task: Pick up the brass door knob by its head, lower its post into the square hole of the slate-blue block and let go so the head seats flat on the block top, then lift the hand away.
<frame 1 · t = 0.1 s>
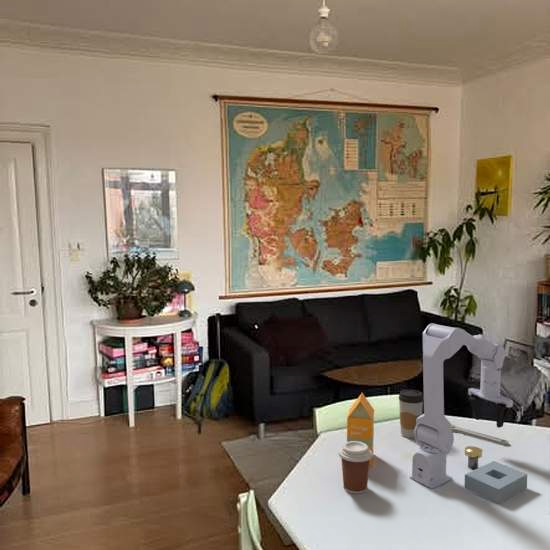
hand: (488, 422, 164), 10 cm above the table, tool pointing down, fingers open, 7 cm apart
orange juice: (360, 459, 161), on the table
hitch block: (495, 488, 143), on the table
brass door knob: (472, 467, 155), on the table
coffee cup: (410, 435, 179), on the table
coffee cup 2: (355, 488, 143), on the table
adjustable wrench: (468, 436, 179), on the table
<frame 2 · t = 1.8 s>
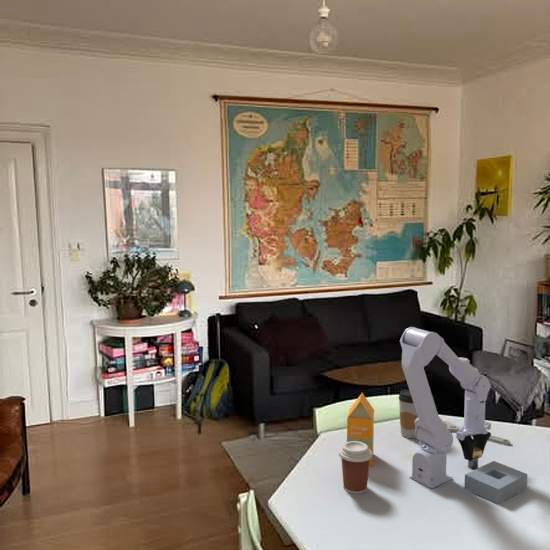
hand: (473, 457, 155), 3 cm above the table, tool pointing down, fingers closed on brass door knob, 5 cm apart
brass door knob: (473, 467, 155), on the table, touching gripper
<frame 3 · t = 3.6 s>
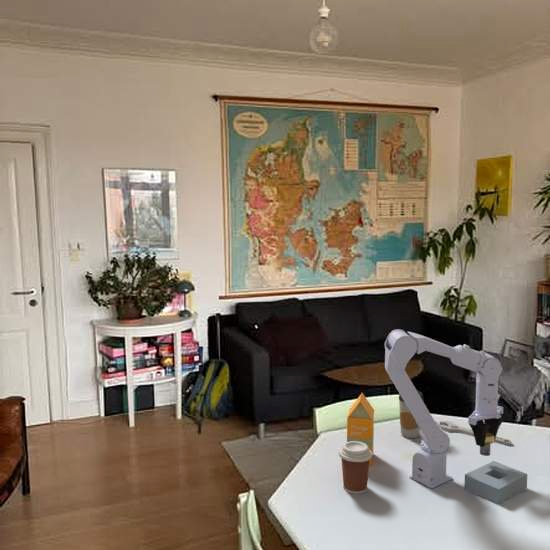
hand: (485, 443, 148), 10 cm above the table, tool pointing down, fingers closed on brass door knob, 5 cm apart
brass door knob: (485, 453, 148), point 7 cm above the table, touching gripper
when the fingers open (6 cm above the table, at t = 5.6 s): brass door knob drops 2 cm, resting on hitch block.
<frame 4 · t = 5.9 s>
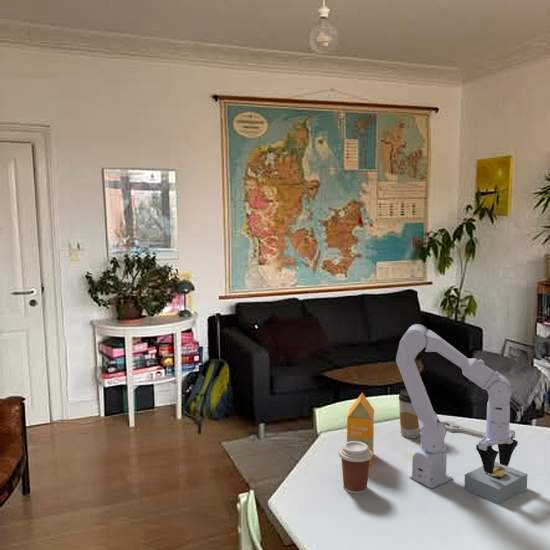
hand: (496, 468, 142), 6 cm above the table, tool pointing down, fingers open, 7 cm apart
brass door knob: (495, 488, 143), resting on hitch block
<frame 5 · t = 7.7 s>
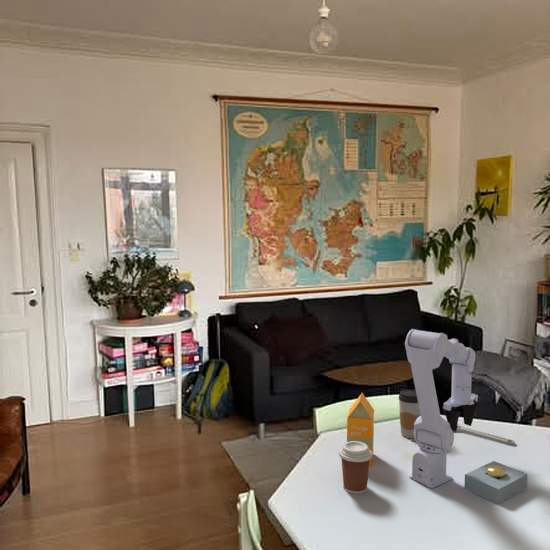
hand: (460, 427, 161), 9 cm above the table, tool pointing down, fingers open, 7 cm apart
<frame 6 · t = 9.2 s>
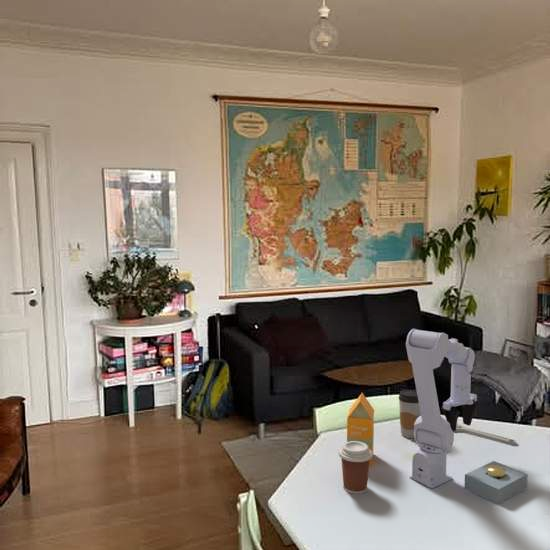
hand: (459, 427, 162), 9 cm above the table, tool pointing down, fingers open, 7 cm apart
at the end: brass door knob 0.1 cm off-centre on the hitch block, point 0.0 cm above the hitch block's base; brass door knob tilted 0°; the gripper is holding nothing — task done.
